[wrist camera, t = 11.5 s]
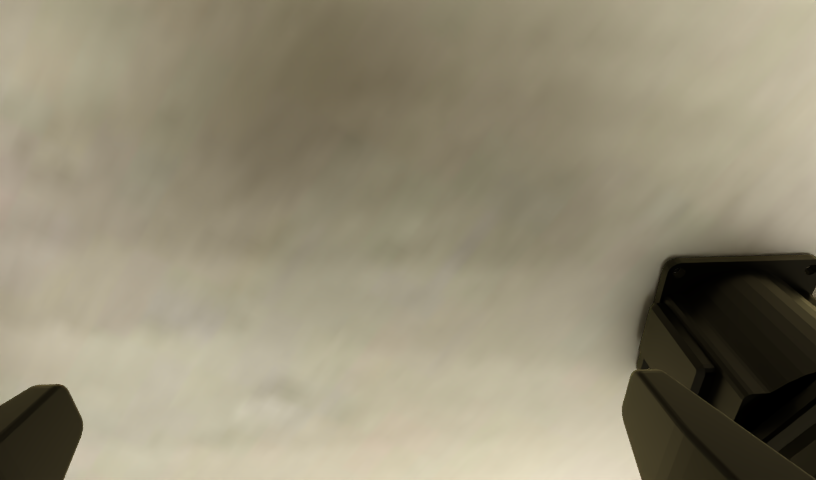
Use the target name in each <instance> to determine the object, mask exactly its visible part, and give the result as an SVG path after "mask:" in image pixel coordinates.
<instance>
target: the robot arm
mask: <svg viewBox="0 0 816 480" xmlns="http://www.w3.org/2000/svg"><path fill="white" fill-rule="evenodd" d="M808 266H809V267H808ZM807 267H808V268H807ZM678 268H680V270H679V271H678V272H676V273H674V271H675V270H676V269H678ZM806 268H807V269H806ZM815 287H816V257H815V256H814V255H770V256H731V257H691V258H674V259H671V260H669V261H668V262H667V263H666V264H665V265H664V267H663V270H662V273H661V277H660V281H659V285H658V288H657V292H656V296H655V299H654V303H653V305H652V306H651V307H650V309H649V313H648V316H647V320H646V324H645V328H644V331H643V335H642V339H641V343H640V347H639V351H640V355H639V359H638V362H637V370H635V371H634V372H633V373H632V374H631V376H630V379H629V383H628V387H627V390H626V394H625V398H624V401H623V405H622V416H623V421H624V425H625V428H626V431H627V434H628V438H629V441H630V444H631V447H632V450H633V454H634V457H635V460H636V463H637V467H638V470H639V473H640V476H641V479H642V480H816V298H815V297H814V296H812V293H813V291H814V289H815ZM648 368H650V369H648ZM82 431H83V421H82V417H81V415H80V413H79V411H78V409H77V407H76V405H75V403H74V401H73V399H72V397H71V395H70V393H69V391H68V389H67V388H66V387H65V386H63V385H60V384H49V385H35V386H32V387H30V388H28V389H27V390H25V391H23V392H22V393H20V394H19V395H17V396H15V397H14V398H12V399H10V400H9V401H7V402H5V403H4V404H2V405H0V480H64V478H65V475H66V473H67V470H68V468H69V465H70V463H71V460H72V458H73V455H74V453H75V450H76V448H77V445H78V443H79V440H80V438H81V435H82Z"/></svg>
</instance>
